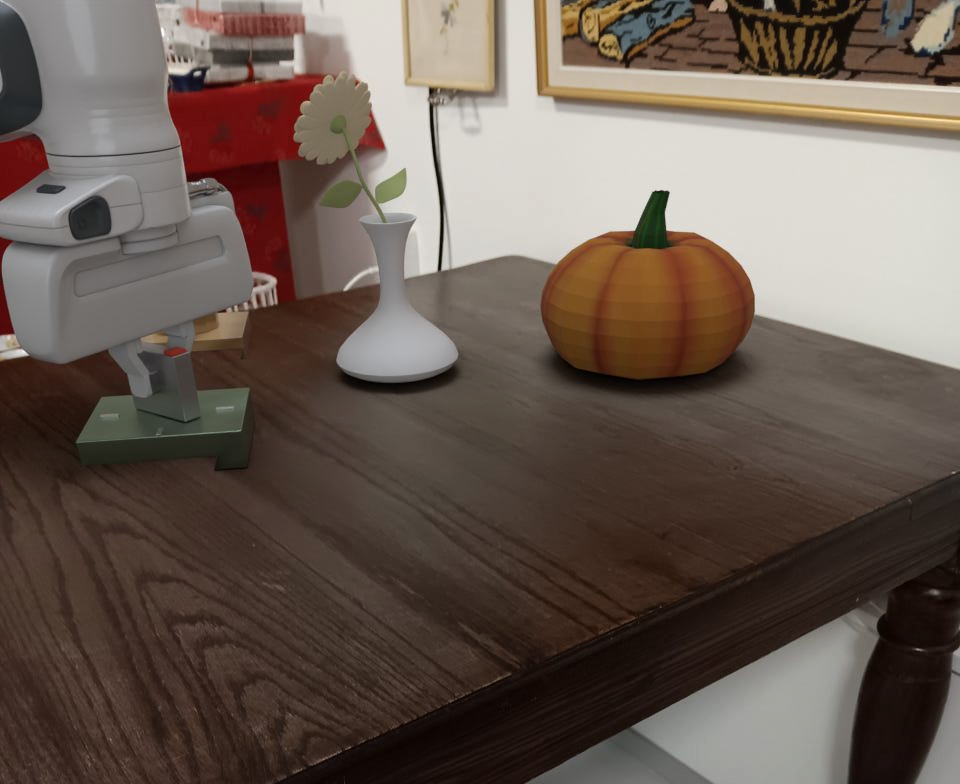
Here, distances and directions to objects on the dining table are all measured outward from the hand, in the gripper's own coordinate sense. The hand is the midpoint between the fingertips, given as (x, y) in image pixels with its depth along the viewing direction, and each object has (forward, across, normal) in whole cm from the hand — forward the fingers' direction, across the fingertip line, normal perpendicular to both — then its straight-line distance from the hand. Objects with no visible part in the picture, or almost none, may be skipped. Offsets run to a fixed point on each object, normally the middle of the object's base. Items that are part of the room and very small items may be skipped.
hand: (162, 388), depth 76 cm
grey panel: (+2, 0, 0) cm, 2 cm away
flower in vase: (+5, -23, +5) cm, 24 cm away
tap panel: (+5, 0, 0) cm, 5 cm away
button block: (+5, -21, -19) cm, 28 cm away
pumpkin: (+5, -37, +24) cm, 45 cm away
